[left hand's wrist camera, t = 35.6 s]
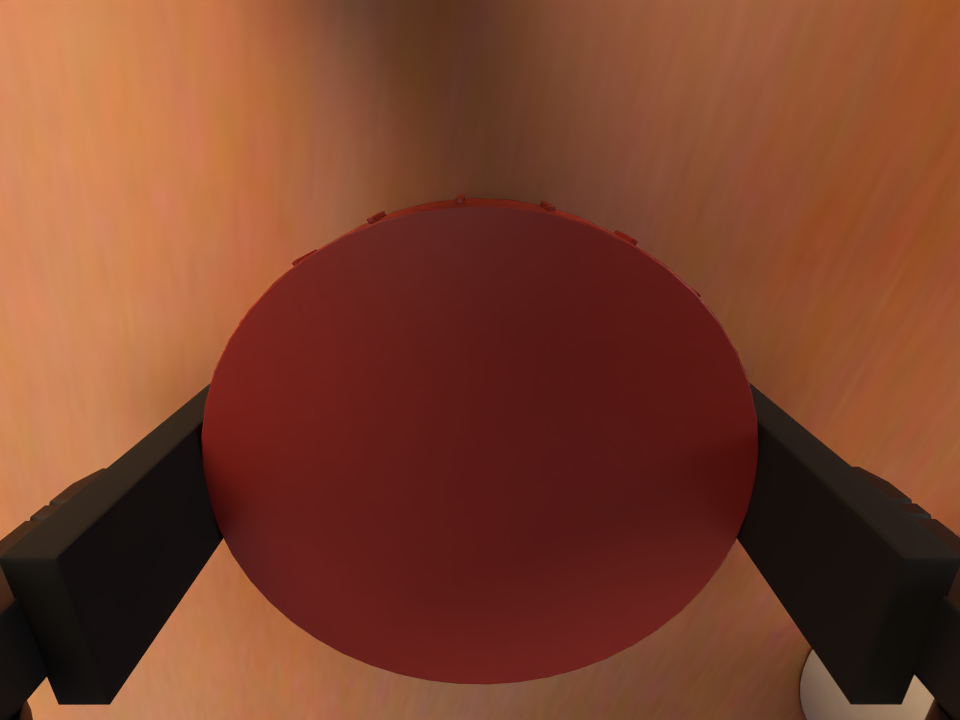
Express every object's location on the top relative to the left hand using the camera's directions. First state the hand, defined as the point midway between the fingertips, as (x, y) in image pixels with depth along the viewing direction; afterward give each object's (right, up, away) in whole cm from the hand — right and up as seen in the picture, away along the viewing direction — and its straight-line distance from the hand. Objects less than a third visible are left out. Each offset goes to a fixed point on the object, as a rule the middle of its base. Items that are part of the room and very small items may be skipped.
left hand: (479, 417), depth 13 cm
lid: (0, -1, -3) cm, 3 cm away
